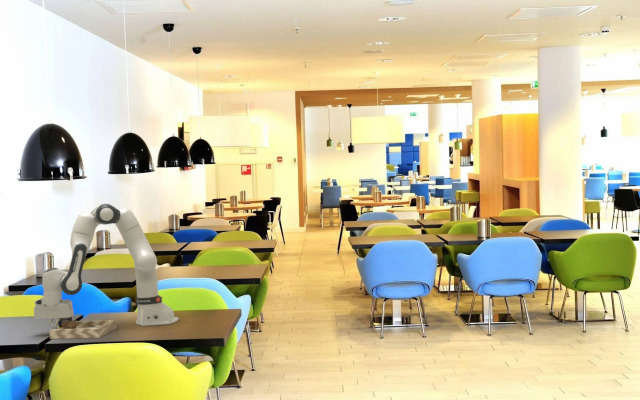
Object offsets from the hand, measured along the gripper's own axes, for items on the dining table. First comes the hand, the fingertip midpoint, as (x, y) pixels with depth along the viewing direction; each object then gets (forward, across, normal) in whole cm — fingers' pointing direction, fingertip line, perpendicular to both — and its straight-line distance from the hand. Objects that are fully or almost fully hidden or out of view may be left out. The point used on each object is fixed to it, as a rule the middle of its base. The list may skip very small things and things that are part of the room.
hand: (54, 326), depth 373 cm
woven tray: (+4, -15, 0) cm, 16 cm away
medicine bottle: (+4, +4, -17) cm, 18 cm away
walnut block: (+2, -8, 0) cm, 8 cm away
